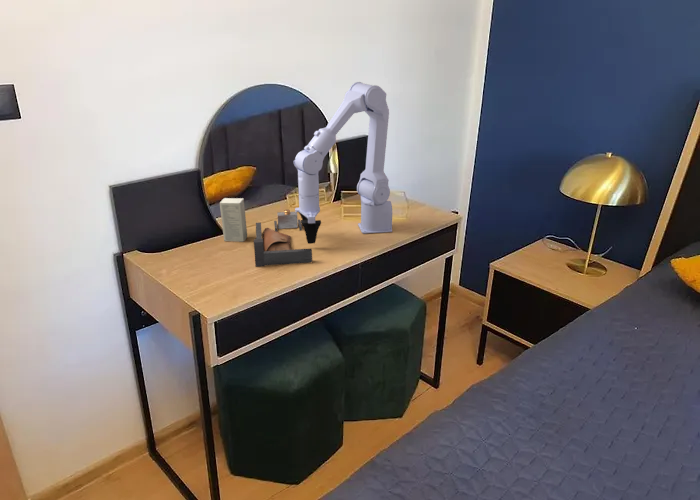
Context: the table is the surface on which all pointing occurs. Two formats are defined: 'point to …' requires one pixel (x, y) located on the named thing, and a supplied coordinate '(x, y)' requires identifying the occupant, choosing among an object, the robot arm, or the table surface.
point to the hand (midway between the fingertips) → (310, 238)
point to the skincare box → (233, 219)
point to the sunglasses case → (275, 240)
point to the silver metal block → (287, 219)
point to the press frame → (278, 252)
